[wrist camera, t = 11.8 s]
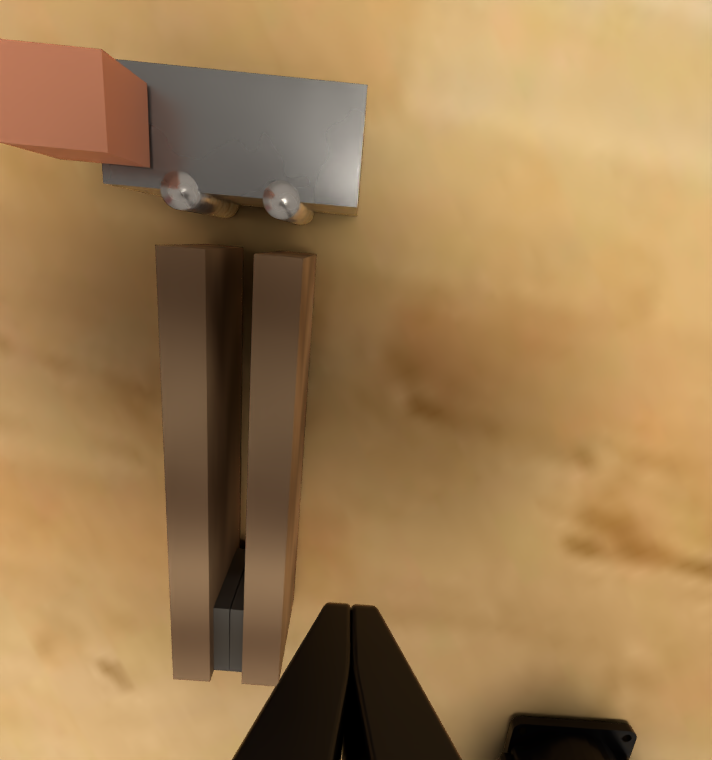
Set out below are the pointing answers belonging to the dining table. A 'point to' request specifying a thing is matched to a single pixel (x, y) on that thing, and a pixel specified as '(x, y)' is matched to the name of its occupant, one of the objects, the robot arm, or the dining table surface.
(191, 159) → the grey block
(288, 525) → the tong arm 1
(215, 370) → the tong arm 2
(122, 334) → the dining table surface
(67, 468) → the dining table surface
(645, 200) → the dining table surface
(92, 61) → the tab
